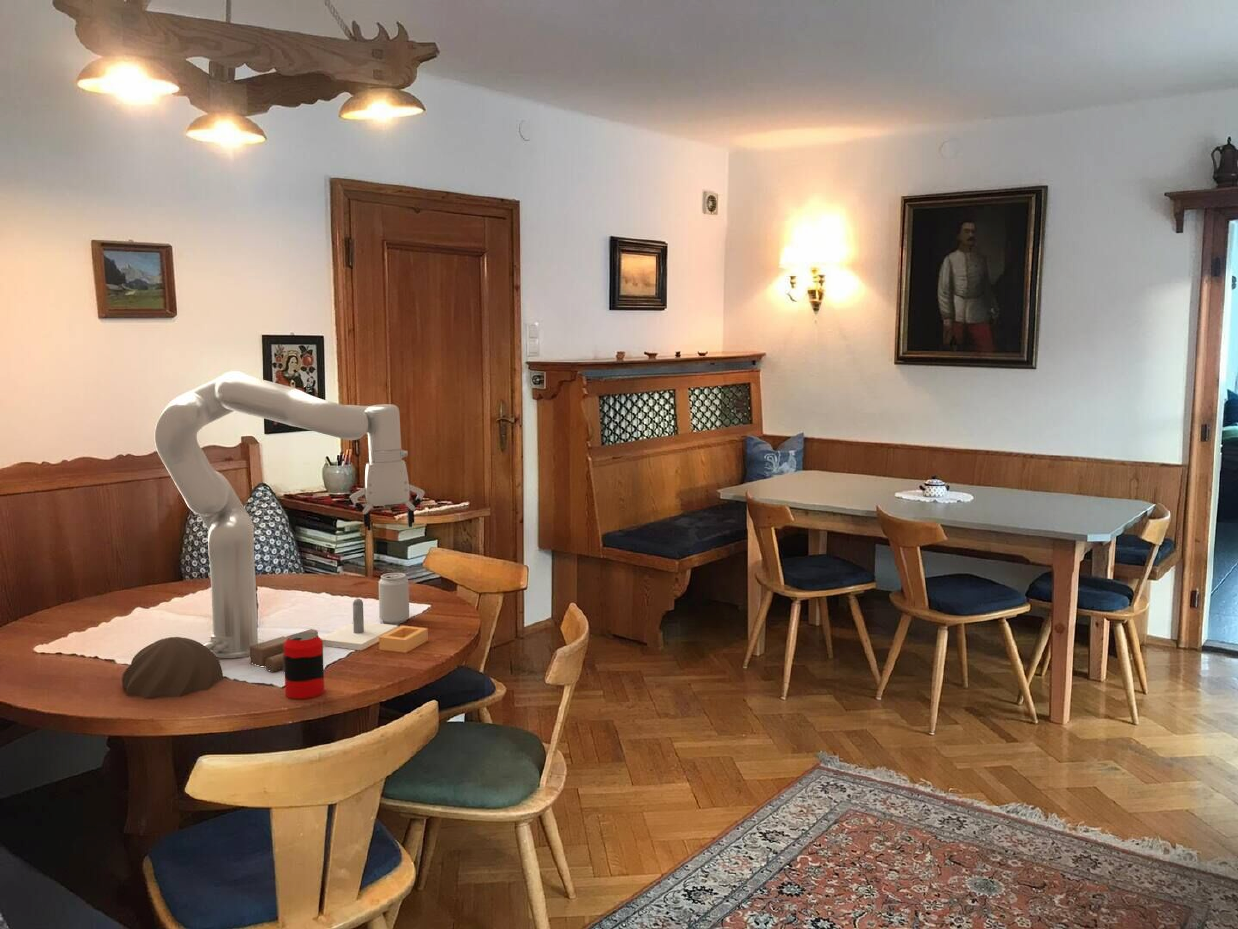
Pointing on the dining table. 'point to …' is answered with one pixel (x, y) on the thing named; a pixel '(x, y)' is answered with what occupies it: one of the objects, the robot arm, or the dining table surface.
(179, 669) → the decorative dome
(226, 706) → the dining table surface
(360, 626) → the stand
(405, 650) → the shallow wooden tray
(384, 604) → the can
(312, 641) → the soda can
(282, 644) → the wooden block set
